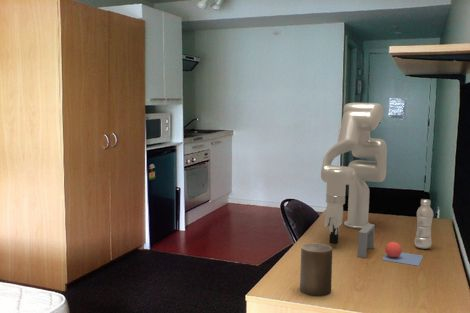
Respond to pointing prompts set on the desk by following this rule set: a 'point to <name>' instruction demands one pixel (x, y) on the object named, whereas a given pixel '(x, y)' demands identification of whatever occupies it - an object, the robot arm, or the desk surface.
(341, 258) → the desk surface
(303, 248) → the pillar candle
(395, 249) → the ball
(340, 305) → the desk surface
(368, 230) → the bridge
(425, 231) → the plastic bottle
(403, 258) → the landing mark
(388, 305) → the desk surface
